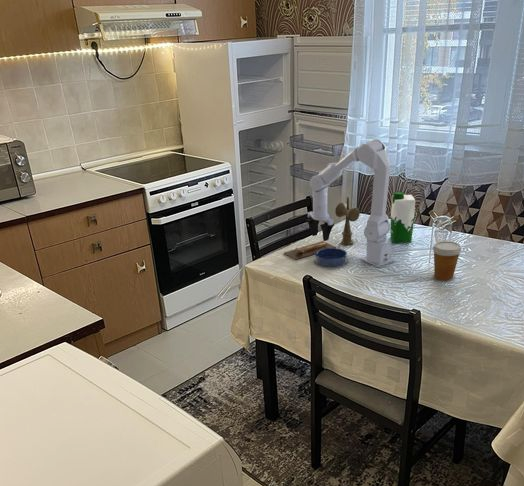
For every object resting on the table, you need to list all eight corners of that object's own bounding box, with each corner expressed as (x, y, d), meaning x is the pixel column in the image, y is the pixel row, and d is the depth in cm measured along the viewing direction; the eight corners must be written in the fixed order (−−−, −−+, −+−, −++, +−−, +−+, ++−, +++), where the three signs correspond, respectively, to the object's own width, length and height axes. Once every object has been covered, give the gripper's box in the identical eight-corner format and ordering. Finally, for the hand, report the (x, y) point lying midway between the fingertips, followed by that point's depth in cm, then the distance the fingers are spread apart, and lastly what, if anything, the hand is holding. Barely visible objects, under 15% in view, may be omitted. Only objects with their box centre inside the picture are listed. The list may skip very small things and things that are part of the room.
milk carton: (388, 237, 231) (390, 190, 221) (409, 235, 231) (413, 188, 221) (391, 244, 224) (395, 196, 213) (414, 243, 224) (418, 194, 213)
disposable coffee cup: (443, 285, 188) (447, 252, 182) (424, 276, 196) (427, 244, 189) (463, 278, 192) (468, 246, 186) (444, 269, 199) (447, 238, 193)
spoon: (298, 251, 217) (303, 237, 215) (293, 249, 219) (297, 235, 218) (324, 257, 225) (328, 244, 224) (318, 255, 228) (323, 241, 226)
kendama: (345, 239, 232) (346, 192, 222) (359, 245, 225) (361, 197, 214) (334, 242, 230) (334, 195, 219) (348, 249, 222) (349, 200, 212)
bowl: (353, 262, 210) (353, 254, 208) (328, 270, 205) (328, 262, 203) (333, 253, 219) (333, 245, 217) (309, 261, 214) (309, 253, 212)
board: (322, 243, 230) (322, 241, 229) (336, 249, 223) (336, 246, 223) (283, 254, 221) (283, 252, 221) (296, 261, 215) (296, 258, 214)
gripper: (339, 207, 211) (339, 240, 218) (317, 199, 222) (317, 231, 229) (325, 210, 208) (325, 244, 215) (303, 202, 219) (303, 234, 226)
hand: (320, 237), depth 222 cm, fingers open, 7 cm apart
